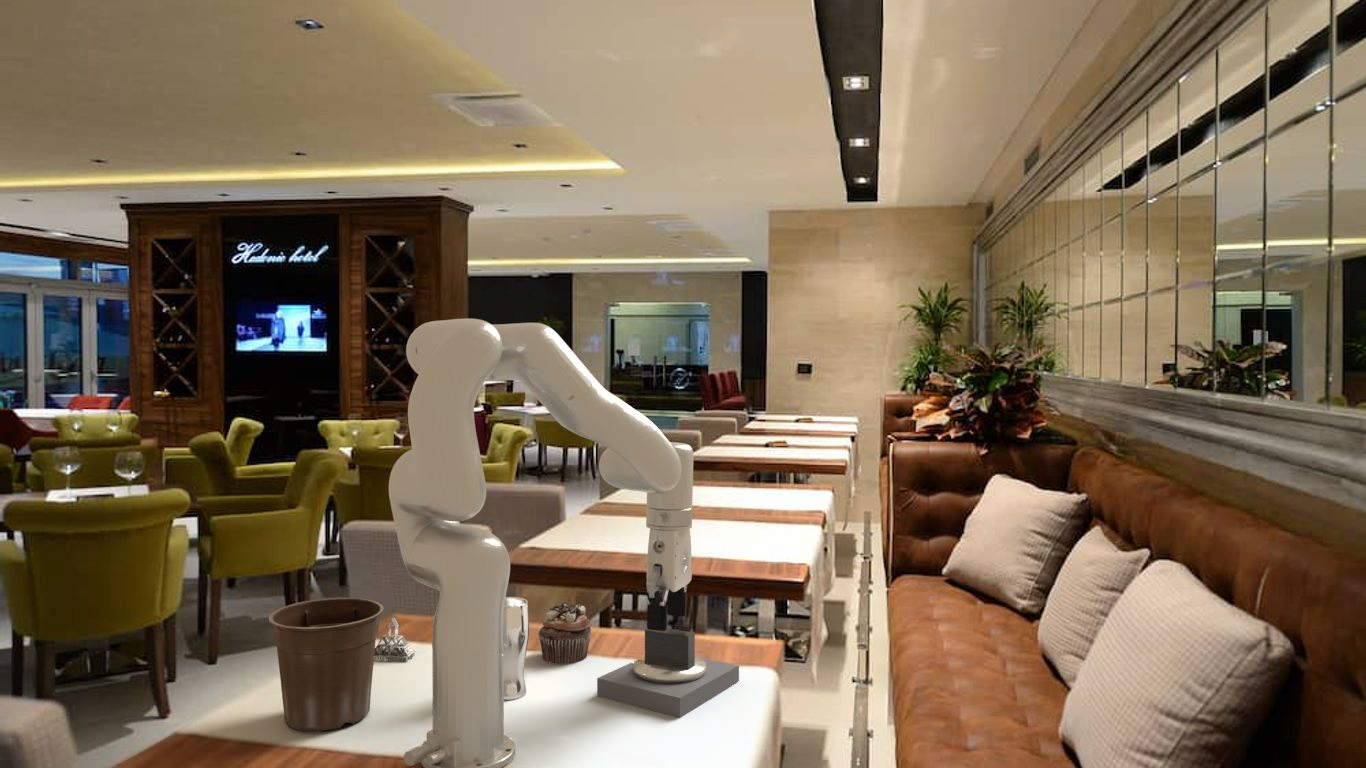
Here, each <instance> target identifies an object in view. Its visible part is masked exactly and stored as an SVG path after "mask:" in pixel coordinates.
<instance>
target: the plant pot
mask: <svg viewBox="0 0 1366 768" xmlns="http://www.w3.org/2000/svg"><path fill="white" fill-rule="evenodd" d="M383 613H384V606H383V604H382V603H380V602H378V601H374V600H372V599H371V600H370V599H367V598H357V597H335V598H320V599H314V600H305V601H301V602H296V603H293V604H289V605H284V606H282V607H280V608H278V609H276V610H275V611H273V612H272V613H270V615H269V616H268V622H269V624H270V625H271V626H272V627H271V628H272V634H273V644H274V646H275V647H276V651H277V660H278V661H277V662H278V670H279V678H280V687H281V688H280V689H281V698H282V705H283V720H284V722H285V725H290V726H291V728H293V729H295V730H300V731H301V730H302V731H306V732H317V731H318V732H320V731H327V730H333V729H334V730H335V729H339V728H341V727H342V726H343V725H344V724H348V723H350V724H352V725H353V724H355V723H358V722H359V721H360V720H362V719H363V718H365V717H367V715H368V714H369V712H370V710H371V695H372V694H371V693H372V683H373V671H374V662H375V661H374V651H375V647H376V641H377V640H376V639H377V637H378V635H379V629H380V620H381V615H382V614H383Z"/></svg>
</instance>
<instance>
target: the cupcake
mask: <svg viewBox="0 0 1366 768" xmlns="http://www.w3.org/2000/svg"><path fill="white" fill-rule="evenodd" d="M545 616H546V617H545V619H544V620H543V622H542V627H541V628H540V629H539V631H538V632H537V633H538V634H537V635H538V638H539V639H538V640H539V643H540V649H541V654H542V659H543V661H545V662H547V663H551V664H556V665H557V664H558V665H563V664H564V665H567V664H575V663H578V662H582V661H584V659H586V658H587V657H588V652H589V646H590V640H591V636H592V629H591V622H590V621H591V620H590V619H589V618H588V617H587V614H586V607H585V606H584V605H581V604H571V605H570V606H568V603H567V602H565V601H564V602H562V603H561V604H560V605H554V606H553V607H549V611H547V612H546V613H545Z"/></svg>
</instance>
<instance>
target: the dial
mask: <svg viewBox="0 0 1366 768" xmlns="http://www.w3.org/2000/svg"><path fill="white" fill-rule="evenodd" d="M695 634H696V632H692V631H687V630H679V629H673V628H667V630H665V631H657V630H649V629H647V628H646V629H644V656H641V657H639V658H637V659H636V660H634V661H635V662H634V661H633V662H634V663H633V673H634V674H635V675H636V676H637V677H639V678H641V679H643V680H647V681H651V682H658V683H681V682H687V681H692V680H695V679H698V678H700V677H702V676H703V675H704V674H705V673H706V663H705V661H704V660H702V659H700V658H701V657H700V658H698V657H699V656H696V653H695V652H696V651H695V645H696V635H695Z"/></svg>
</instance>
